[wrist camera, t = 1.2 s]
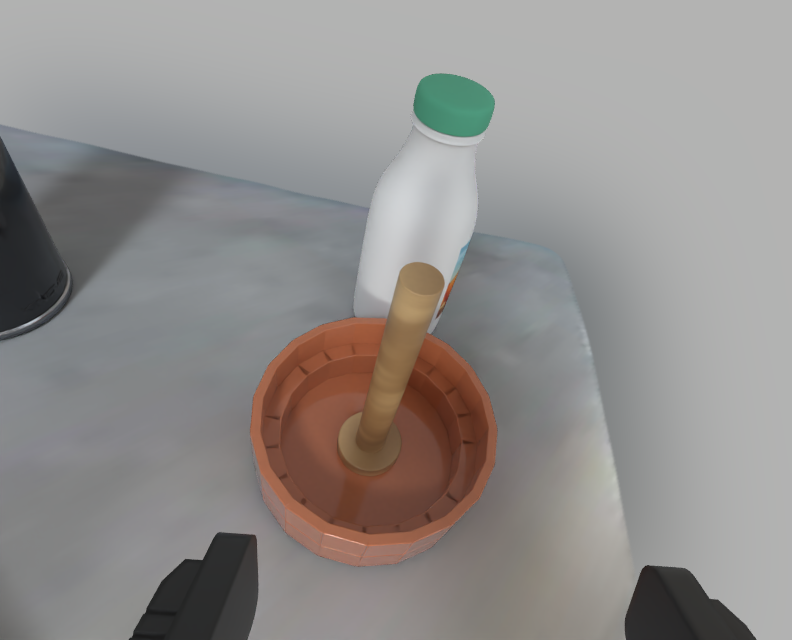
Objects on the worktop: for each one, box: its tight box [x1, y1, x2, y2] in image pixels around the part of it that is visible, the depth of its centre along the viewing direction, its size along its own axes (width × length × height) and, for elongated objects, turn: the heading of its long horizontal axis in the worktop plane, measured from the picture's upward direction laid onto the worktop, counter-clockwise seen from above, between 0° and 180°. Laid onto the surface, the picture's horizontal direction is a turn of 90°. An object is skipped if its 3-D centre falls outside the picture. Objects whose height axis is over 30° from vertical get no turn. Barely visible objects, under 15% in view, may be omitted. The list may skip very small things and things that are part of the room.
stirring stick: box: [337, 262, 445, 476], centre depth 26 cm, size 4×4×17 cm
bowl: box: [250, 317, 497, 567], centre depth 31 cm, size 15×15×6 cm
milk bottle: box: [353, 74, 495, 334], centre depth 34 cm, size 8×8×20 cm
